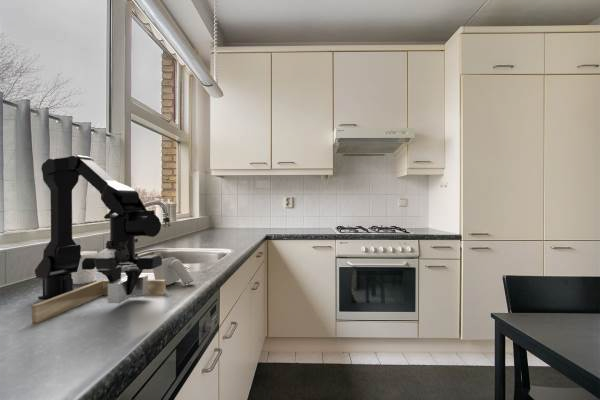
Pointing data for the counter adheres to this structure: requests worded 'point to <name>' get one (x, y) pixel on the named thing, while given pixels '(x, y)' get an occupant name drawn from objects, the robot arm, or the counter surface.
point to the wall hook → (172, 271)
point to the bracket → (119, 289)
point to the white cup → (85, 275)
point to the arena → (83, 298)
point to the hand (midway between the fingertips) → (123, 294)
